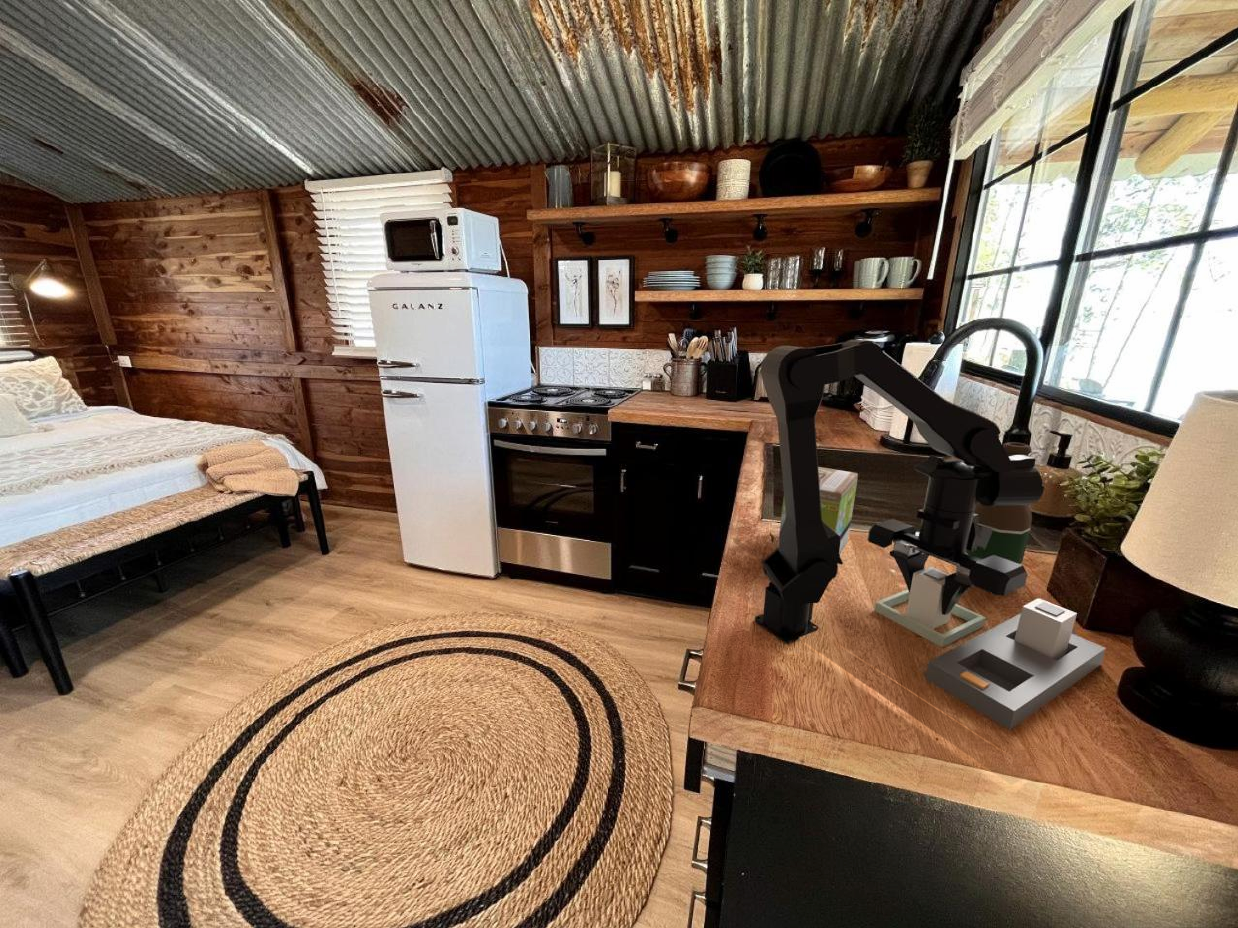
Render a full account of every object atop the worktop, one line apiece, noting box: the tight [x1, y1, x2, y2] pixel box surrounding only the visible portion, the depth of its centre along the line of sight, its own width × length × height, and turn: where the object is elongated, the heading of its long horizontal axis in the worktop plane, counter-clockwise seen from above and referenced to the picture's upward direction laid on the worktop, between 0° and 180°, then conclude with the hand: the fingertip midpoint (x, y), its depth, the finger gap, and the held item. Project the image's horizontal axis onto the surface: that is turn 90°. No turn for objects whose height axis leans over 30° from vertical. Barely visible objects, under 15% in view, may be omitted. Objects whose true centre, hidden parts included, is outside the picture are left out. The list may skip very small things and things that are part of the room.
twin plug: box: [1014, 597, 1078, 660], centre depth 63 cm, size 4×4×7 cm
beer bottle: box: [965, 441, 1033, 565], centre depth 80 cm, size 8×8×24 cm
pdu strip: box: [924, 612, 1107, 731], centre depth 62 cm, size 25×9×3 cm, turn 118°
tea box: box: [777, 466, 859, 555], centre depth 94 cm, size 15×10×15 cm
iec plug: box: [905, 566, 952, 630], centre depth 72 cm, size 4×4×7 cm
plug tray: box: [873, 588, 987, 648], centre depth 73 cm, size 10×10×2 cm
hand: (929, 606), depth 72 cm, fingers closed on iec plug, 4 cm apart
